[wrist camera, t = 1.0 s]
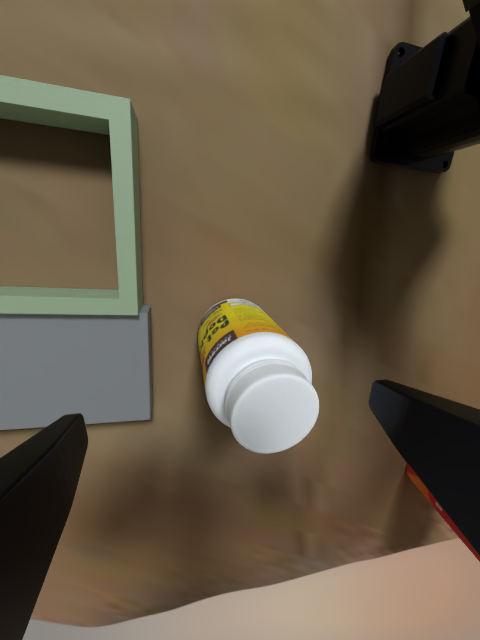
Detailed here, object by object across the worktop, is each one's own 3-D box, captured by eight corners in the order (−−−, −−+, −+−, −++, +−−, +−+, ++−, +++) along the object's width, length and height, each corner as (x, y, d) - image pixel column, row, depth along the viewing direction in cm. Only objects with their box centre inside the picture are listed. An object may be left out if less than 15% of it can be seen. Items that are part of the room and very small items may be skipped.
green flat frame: (146, 120, 15) (140, 101, 13) (152, 403, 21) (149, 424, 19) (-119, 75, 13) (-185, 41, 10) (-30, 413, 18) (-60, 439, 16)
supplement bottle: (211, 286, 19) (242, 339, 10) (277, 309, 21) (359, 375, 11) (186, 353, 20) (191, 460, 11) (250, 371, 22) (304, 476, 13)
